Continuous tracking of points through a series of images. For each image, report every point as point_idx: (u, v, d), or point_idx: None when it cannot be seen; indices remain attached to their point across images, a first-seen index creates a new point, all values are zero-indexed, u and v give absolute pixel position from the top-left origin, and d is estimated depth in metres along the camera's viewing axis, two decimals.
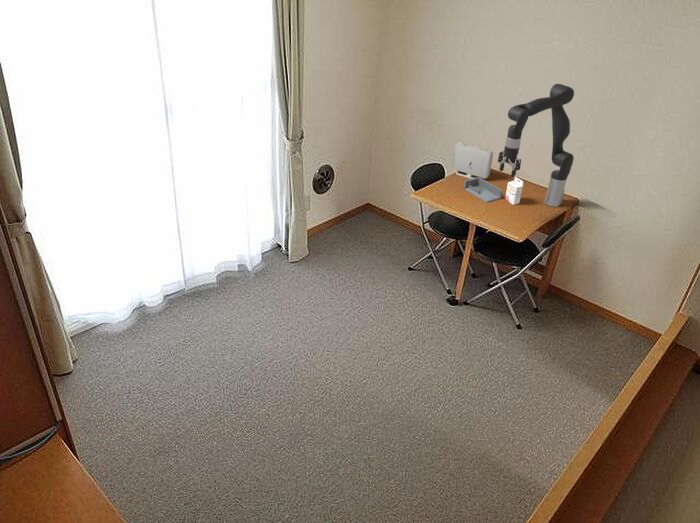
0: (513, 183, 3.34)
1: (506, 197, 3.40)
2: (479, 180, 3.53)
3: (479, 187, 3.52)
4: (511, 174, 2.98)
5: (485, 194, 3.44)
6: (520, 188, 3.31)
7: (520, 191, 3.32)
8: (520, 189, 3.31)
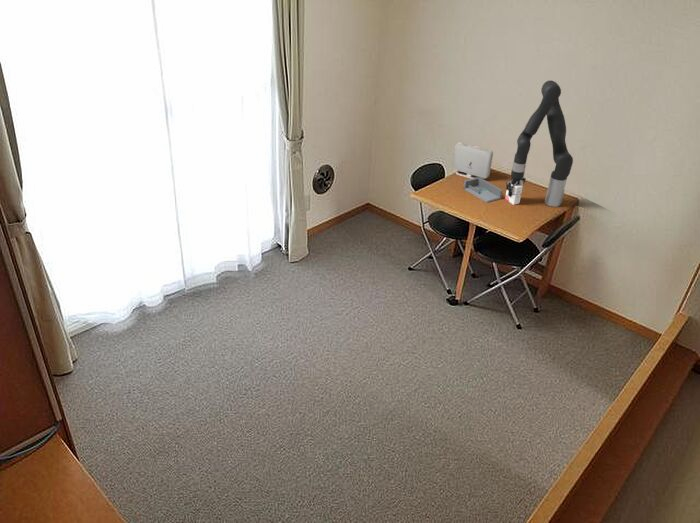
0: None
1: (506, 197, 3.40)
2: (479, 180, 3.53)
3: (479, 187, 3.52)
4: None
5: (485, 194, 3.44)
6: (520, 188, 3.31)
7: (520, 191, 3.32)
8: (520, 189, 3.31)
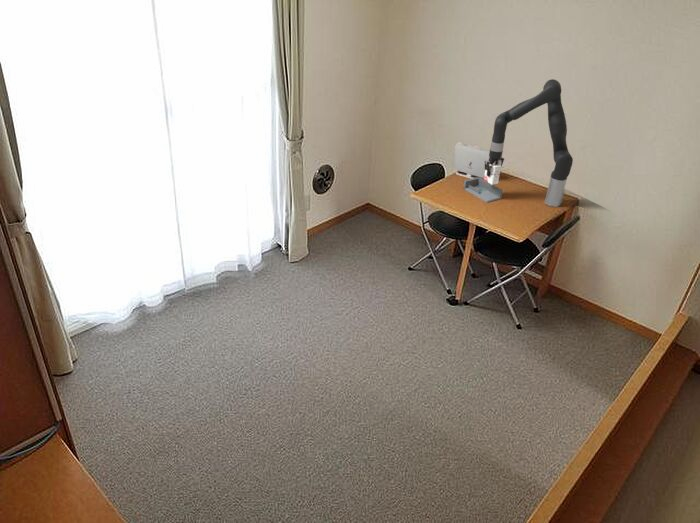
0: None
1: (485, 177, 3.40)
2: (479, 180, 3.53)
3: (479, 187, 3.52)
4: None
5: (485, 194, 3.44)
6: (498, 168, 3.31)
7: (498, 171, 3.32)
8: (498, 169, 3.31)
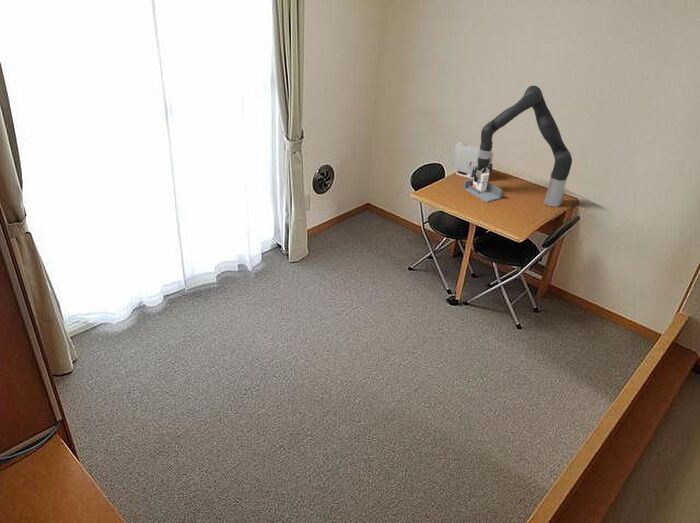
0: None
1: (473, 185, 3.50)
2: None
3: None
4: None
5: (485, 194, 3.44)
6: (486, 176, 3.41)
7: (486, 179, 3.43)
8: (486, 177, 3.42)
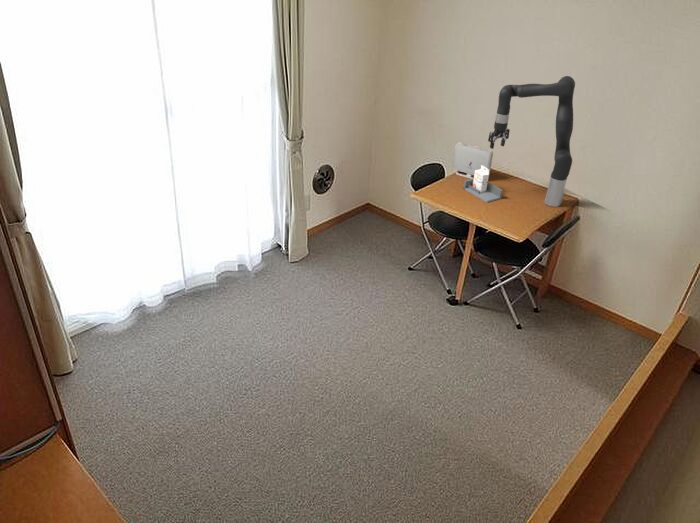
0: (480, 171, 3.44)
1: (473, 185, 3.50)
2: None
3: None
4: (503, 144, 3.33)
5: (485, 194, 3.44)
6: (486, 176, 3.41)
7: (486, 179, 3.43)
8: (486, 177, 3.42)
